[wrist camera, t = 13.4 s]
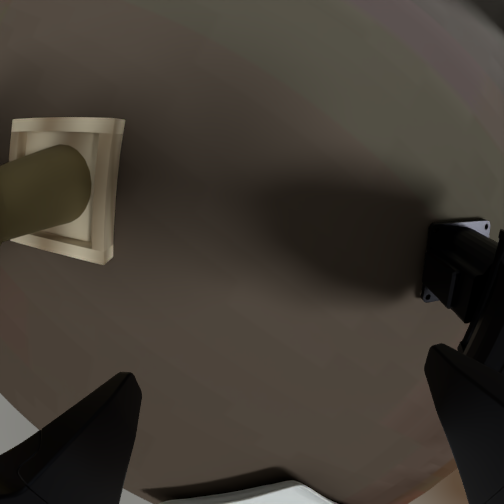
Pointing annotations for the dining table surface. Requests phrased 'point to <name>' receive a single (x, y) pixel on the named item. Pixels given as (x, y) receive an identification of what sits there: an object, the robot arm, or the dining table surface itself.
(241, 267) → the dining table surface
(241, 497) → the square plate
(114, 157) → the holder
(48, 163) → the olive green cylinder
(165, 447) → the dining table surface
